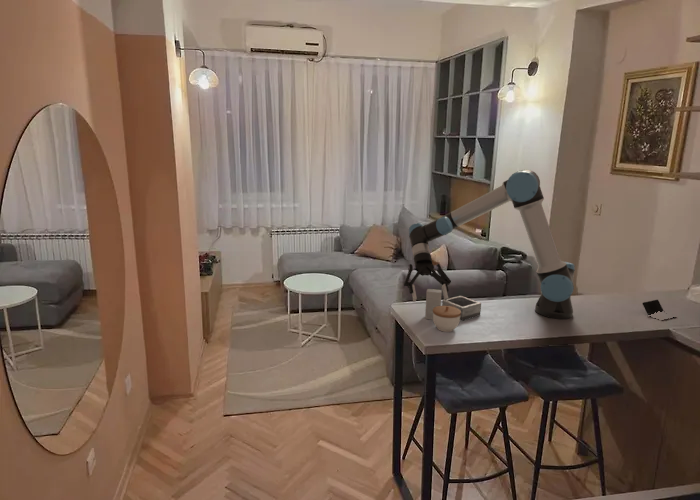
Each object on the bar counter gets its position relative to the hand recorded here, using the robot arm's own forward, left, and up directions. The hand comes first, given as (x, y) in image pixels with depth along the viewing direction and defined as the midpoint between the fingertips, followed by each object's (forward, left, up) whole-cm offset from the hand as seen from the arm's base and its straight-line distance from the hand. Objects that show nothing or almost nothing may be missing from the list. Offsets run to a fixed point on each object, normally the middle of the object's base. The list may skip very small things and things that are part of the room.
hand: (430, 299), depth 194 cm
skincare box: (-2, 0, -8) cm, 8 cm away
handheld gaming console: (-53, -87, -8) cm, 102 cm away
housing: (-5, -14, -7) cm, 17 cm away
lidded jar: (-13, +4, -8) cm, 15 cm away
